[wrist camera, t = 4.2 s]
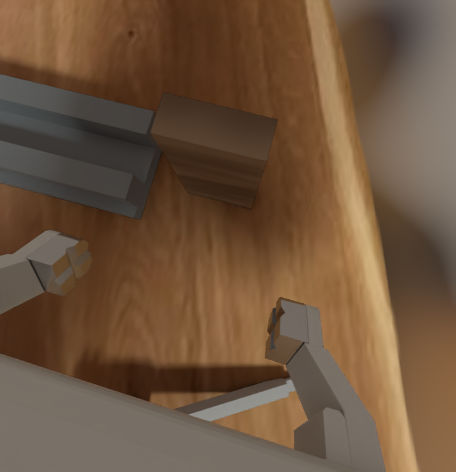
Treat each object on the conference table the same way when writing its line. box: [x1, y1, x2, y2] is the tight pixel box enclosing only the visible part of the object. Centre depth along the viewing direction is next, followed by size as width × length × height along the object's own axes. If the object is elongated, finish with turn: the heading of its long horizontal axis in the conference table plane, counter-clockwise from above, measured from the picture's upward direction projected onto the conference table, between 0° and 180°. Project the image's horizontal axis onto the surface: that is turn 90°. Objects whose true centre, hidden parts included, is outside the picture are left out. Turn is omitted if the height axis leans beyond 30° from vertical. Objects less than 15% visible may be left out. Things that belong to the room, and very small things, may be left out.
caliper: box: [173, 377, 296, 422], centre depth 19 cm, size 20×1×6 cm, turn 101°
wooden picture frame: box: [150, 92, 278, 209], centre depth 18 cm, size 3×6×11 cm, turn 75°
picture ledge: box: [0, 74, 162, 220], centre depth 22 cm, size 10×20×4 cm, turn 75°
